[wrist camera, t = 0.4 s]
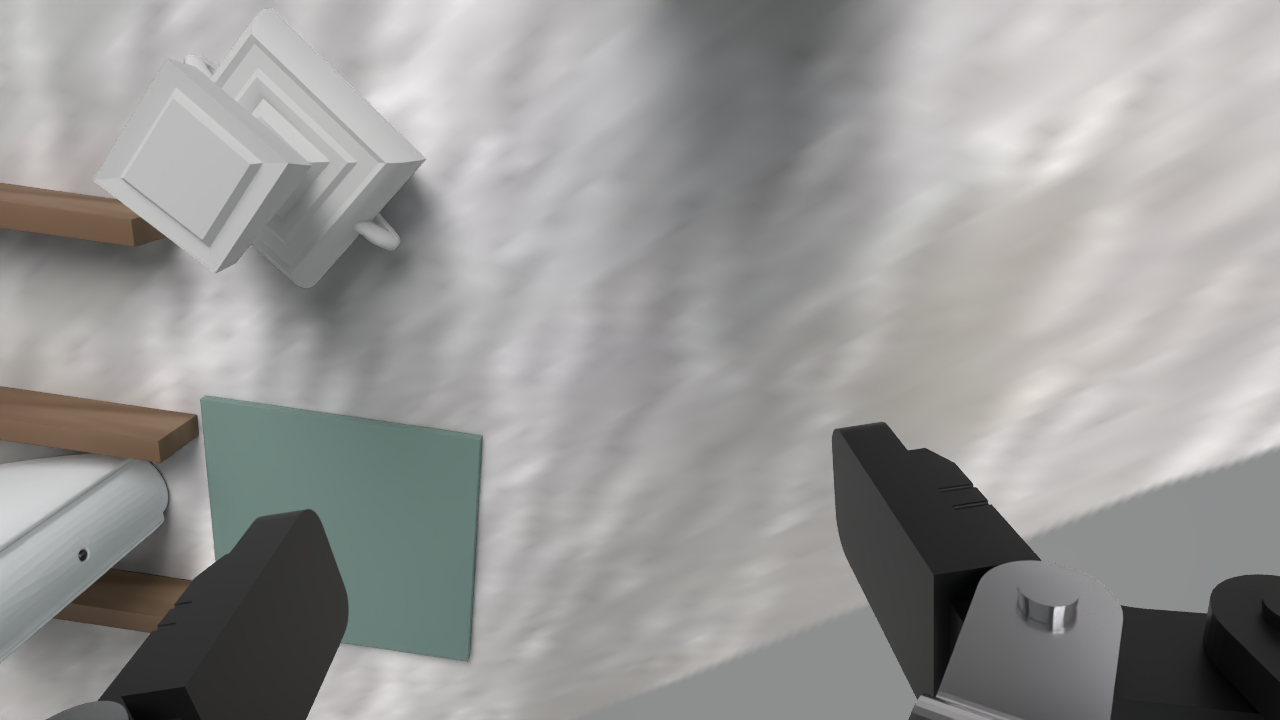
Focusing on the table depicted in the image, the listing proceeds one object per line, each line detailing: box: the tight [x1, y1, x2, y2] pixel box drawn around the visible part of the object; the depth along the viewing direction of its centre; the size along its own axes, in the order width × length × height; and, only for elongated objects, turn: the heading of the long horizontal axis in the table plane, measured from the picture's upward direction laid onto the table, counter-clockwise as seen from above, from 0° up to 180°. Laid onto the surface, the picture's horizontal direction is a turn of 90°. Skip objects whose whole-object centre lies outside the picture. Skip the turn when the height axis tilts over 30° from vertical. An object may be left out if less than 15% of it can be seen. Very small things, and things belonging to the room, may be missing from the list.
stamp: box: [93, 8, 426, 289], centre depth 24 cm, size 9×7×8 cm
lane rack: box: [0, 183, 198, 633], centre depth 31 cm, size 19×14×3 cm
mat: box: [200, 396, 482, 661], centre depth 34 cm, size 12×12×1 cm
